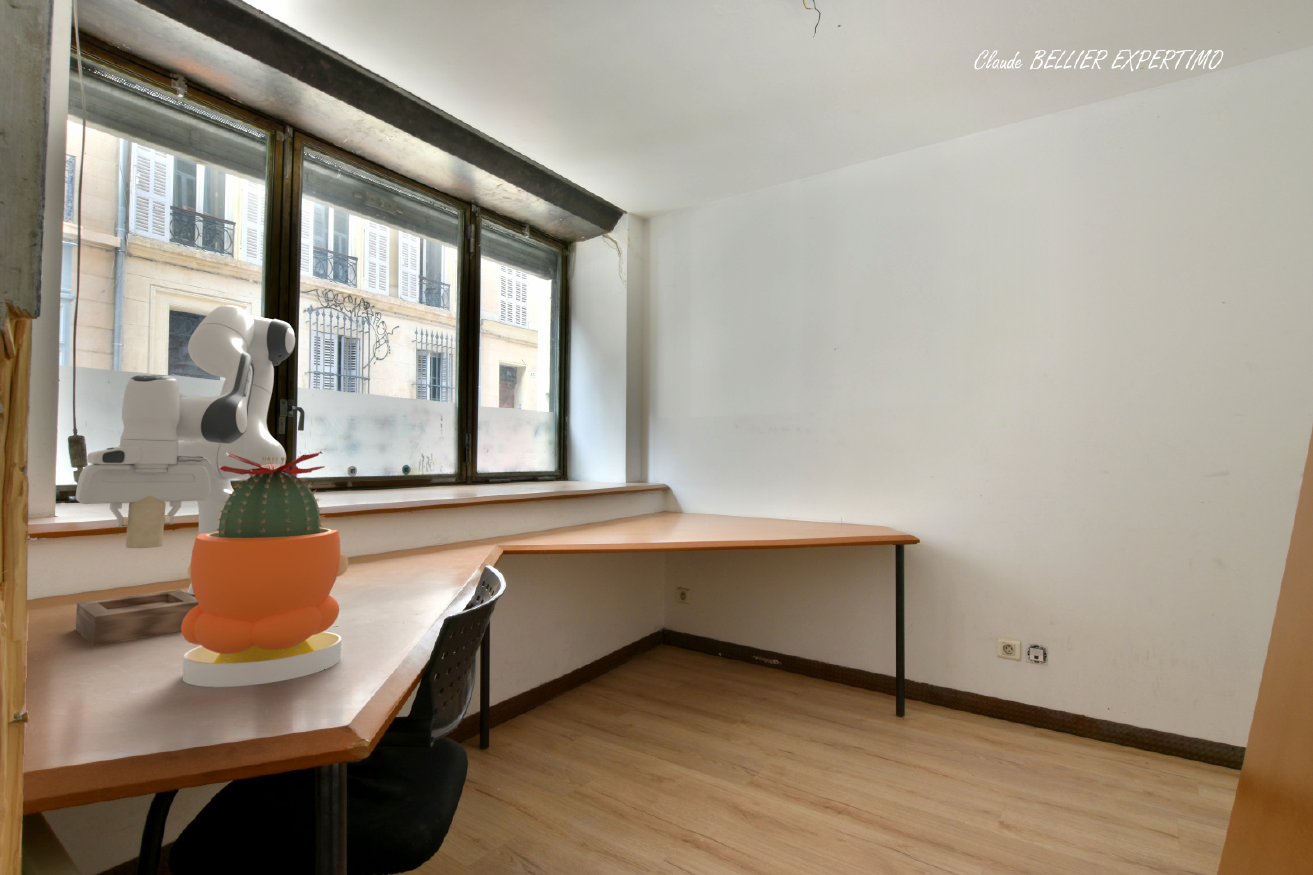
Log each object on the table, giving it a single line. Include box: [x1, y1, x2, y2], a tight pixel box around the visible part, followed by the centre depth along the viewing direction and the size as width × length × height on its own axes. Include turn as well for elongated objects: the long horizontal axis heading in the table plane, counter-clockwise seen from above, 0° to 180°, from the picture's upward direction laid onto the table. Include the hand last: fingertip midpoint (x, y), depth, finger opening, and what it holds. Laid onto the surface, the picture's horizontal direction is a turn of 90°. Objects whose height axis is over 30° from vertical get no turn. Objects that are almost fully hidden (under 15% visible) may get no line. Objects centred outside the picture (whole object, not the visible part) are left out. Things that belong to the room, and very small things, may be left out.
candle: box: [125, 496, 167, 549], centre depth 118 cm, size 6×6×10 cm
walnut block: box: [75, 589, 199, 647], centre depth 117 cm, size 16×16×6 cm
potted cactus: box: [180, 451, 349, 688], centre depth 95 cm, size 22×22×35 cm
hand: (145, 525), depth 118 cm, fingers closed on candle, 5 cm apart
